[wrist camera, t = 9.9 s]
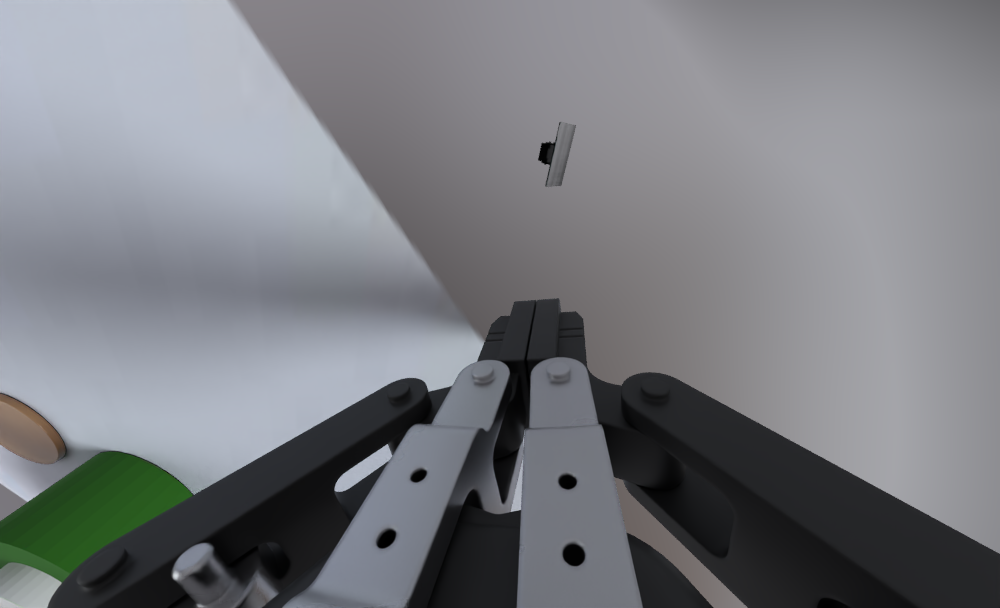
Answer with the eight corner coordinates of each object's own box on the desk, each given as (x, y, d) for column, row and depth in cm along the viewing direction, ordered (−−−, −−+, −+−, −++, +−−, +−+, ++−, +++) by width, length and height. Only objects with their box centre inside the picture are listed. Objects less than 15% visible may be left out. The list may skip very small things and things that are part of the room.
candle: (68, 461, 24) (-219, 652, 15) (138, 442, 22) (-158, 658, 13) (156, 536, 27) (-43, 733, 18) (227, 527, 25) (36, 752, 16)
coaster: (-43, 391, 23) (-53, 395, 22) (19, 390, 21) (10, 394, 21) (24, 458, 25) (16, 463, 25) (83, 460, 24) (76, 465, 23)
